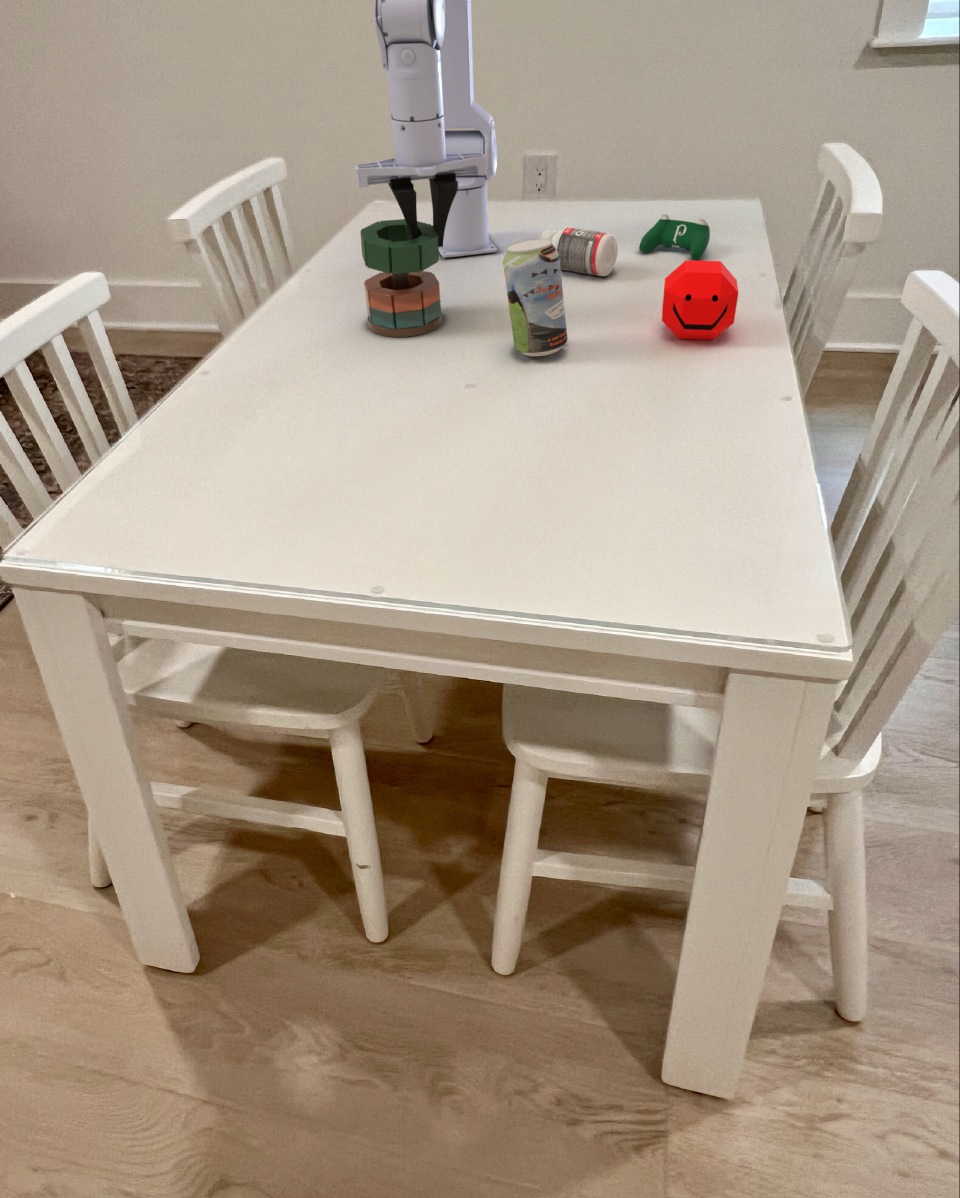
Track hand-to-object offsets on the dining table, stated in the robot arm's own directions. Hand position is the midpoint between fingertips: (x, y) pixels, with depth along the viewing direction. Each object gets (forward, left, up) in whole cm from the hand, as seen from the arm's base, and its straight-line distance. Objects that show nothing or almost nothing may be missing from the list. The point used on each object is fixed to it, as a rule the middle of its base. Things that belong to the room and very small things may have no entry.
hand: (427, 245), depth 104 cm
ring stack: (0, -3, -9) cm, 9 cm away
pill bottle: (-7, +26, -6) cm, 27 cm away
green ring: (0, -3, -1) cm, 3 cm away
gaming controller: (-13, +38, -9) cm, 41 cm away
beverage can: (+13, +10, -9) cm, 18 cm away
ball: (+14, +29, -9) cm, 33 cm away
